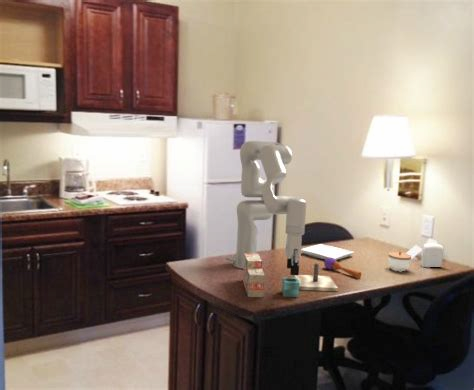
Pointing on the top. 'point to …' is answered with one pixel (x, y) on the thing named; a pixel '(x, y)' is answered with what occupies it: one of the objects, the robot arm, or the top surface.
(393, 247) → the top surface
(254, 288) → the stack of blocks
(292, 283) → the open box
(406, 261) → the lidded jar
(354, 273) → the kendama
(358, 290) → the top surface
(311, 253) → the salad plate
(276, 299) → the top surface
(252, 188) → the robot arm
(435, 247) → the photo printer
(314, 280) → the cream peg stand
